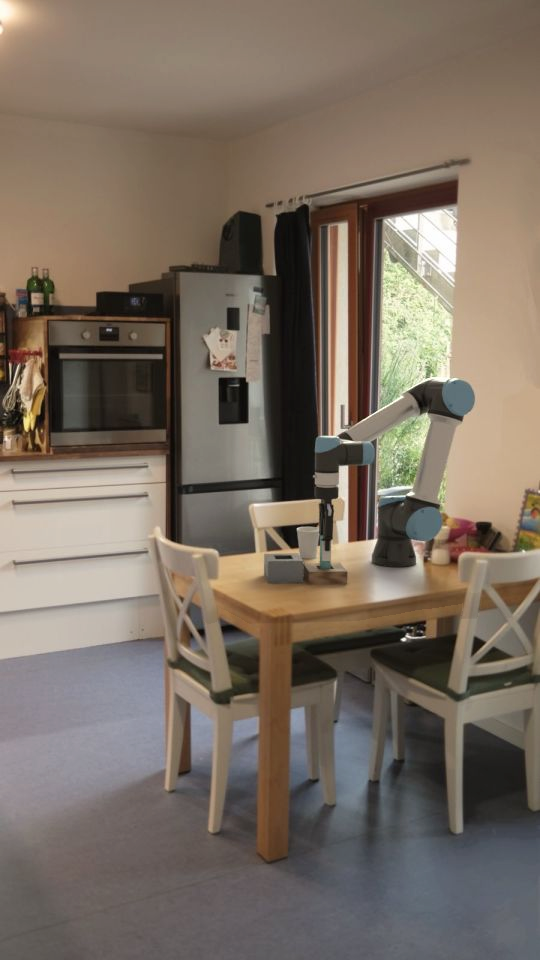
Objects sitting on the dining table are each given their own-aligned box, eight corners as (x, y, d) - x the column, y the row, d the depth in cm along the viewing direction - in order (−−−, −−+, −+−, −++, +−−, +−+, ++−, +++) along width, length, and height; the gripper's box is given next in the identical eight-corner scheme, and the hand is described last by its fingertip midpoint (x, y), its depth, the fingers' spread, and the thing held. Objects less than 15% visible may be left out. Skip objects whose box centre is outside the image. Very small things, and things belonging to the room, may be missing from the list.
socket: (297, 574, 315) (298, 553, 314) (303, 582, 304) (303, 560, 303) (263, 575, 314) (264, 553, 313) (267, 583, 303) (268, 561, 302)
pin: (329, 578, 311) (330, 534, 309) (331, 580, 307) (332, 537, 305) (318, 578, 310) (319, 535, 308) (320, 581, 307) (321, 537, 305)
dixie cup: (316, 560, 337) (316, 531, 335) (293, 558, 339) (293, 530, 338) (322, 555, 345) (323, 527, 343) (299, 553, 347) (300, 526, 346)
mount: (339, 574, 315) (340, 562, 315) (347, 583, 304) (347, 571, 303) (303, 575, 314) (303, 563, 313) (309, 584, 302) (309, 571, 302)
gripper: (310, 482, 312) (309, 553, 316) (319, 489, 296) (317, 565, 299) (333, 481, 313) (332, 553, 316) (343, 489, 297) (342, 564, 300)
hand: (325, 559), depth 308 cm, fingers closed on pin, 3 cm apart
